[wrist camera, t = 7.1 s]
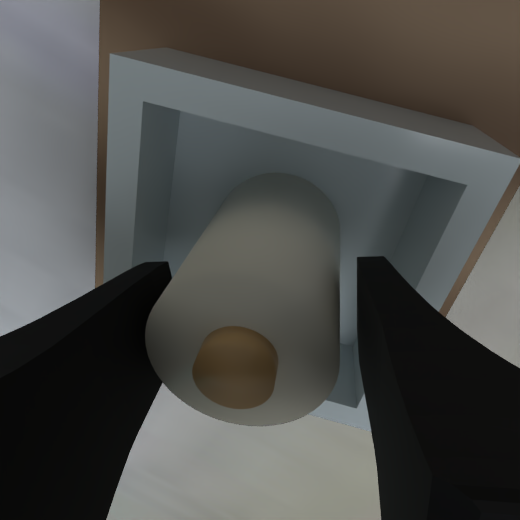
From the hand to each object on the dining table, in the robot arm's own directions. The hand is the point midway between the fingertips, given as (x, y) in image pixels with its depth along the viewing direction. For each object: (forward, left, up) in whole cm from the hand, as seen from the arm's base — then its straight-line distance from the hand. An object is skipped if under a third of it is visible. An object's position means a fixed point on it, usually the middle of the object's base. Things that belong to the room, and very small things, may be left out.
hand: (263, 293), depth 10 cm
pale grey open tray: (0, 0, -4) cm, 4 cm away
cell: (0, 0, -4) cm, 4 cm away
